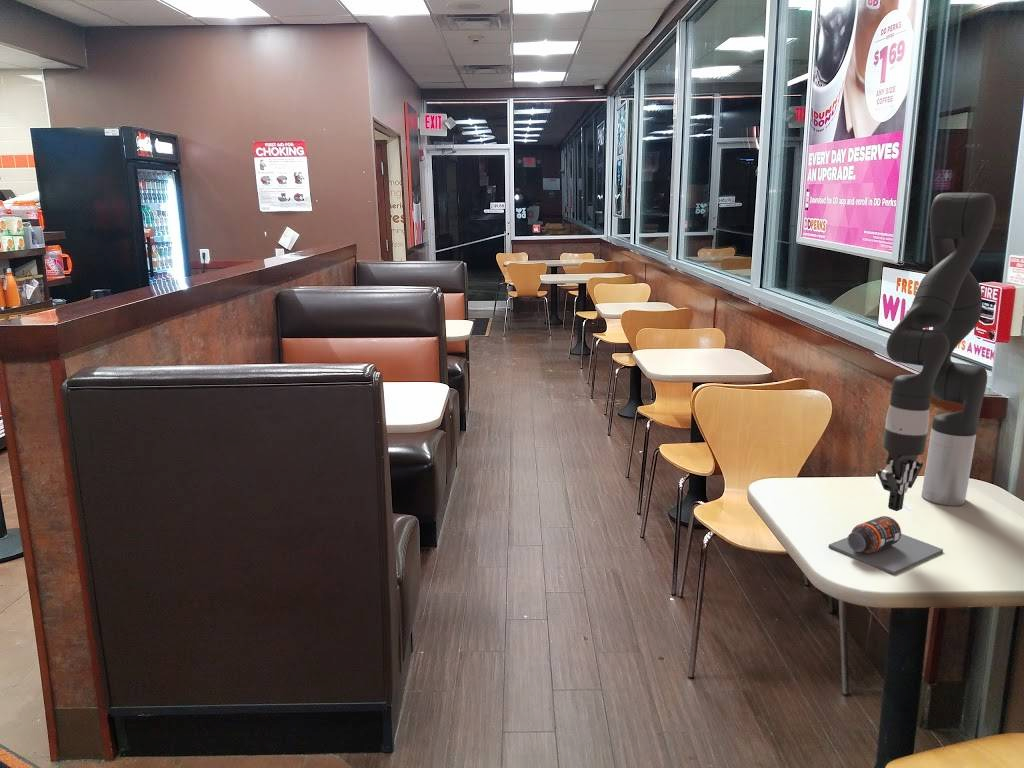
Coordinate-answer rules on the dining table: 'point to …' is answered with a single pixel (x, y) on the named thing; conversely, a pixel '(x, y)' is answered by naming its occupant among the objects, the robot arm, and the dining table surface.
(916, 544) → the mat
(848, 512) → the dining table surface
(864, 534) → the supplement bottle
